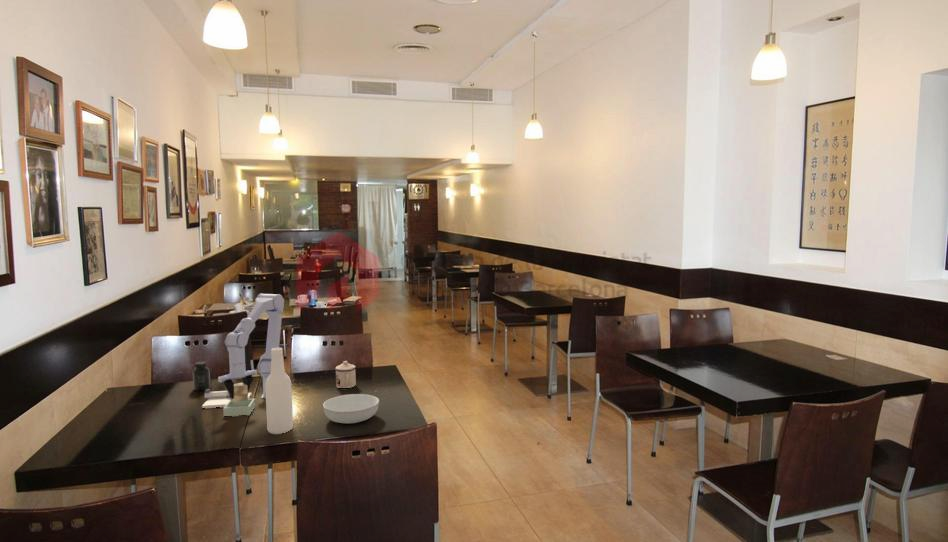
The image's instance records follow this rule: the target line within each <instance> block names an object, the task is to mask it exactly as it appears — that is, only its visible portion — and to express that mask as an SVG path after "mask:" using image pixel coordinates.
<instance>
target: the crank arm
mask: <svg viewBox="0 0 948 542" xmlns="http://www.w3.org/2000/svg"><path fill="white" fill-rule="evenodd" d="M213 397H230V396H229V392H228V390H218V391H217V390H216V391H211V388H209V389H205V390H204V399H209V398H213Z"/></svg>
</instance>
